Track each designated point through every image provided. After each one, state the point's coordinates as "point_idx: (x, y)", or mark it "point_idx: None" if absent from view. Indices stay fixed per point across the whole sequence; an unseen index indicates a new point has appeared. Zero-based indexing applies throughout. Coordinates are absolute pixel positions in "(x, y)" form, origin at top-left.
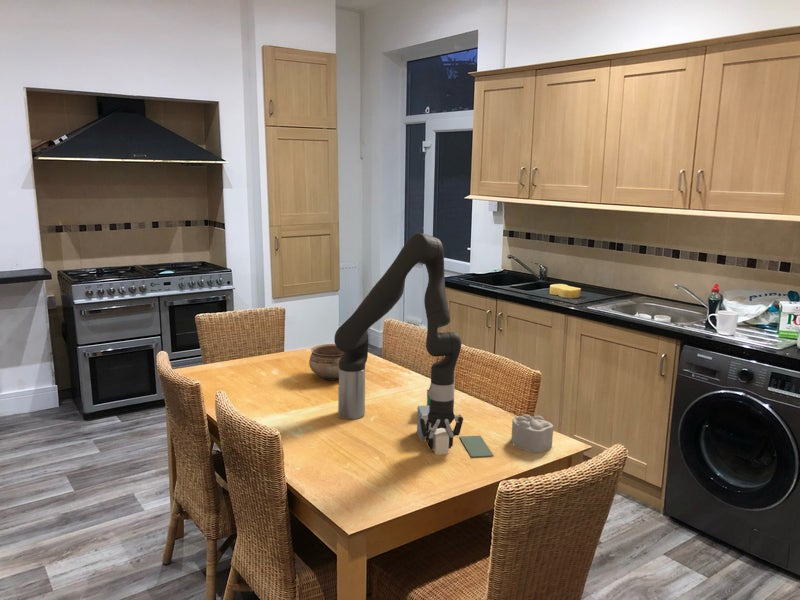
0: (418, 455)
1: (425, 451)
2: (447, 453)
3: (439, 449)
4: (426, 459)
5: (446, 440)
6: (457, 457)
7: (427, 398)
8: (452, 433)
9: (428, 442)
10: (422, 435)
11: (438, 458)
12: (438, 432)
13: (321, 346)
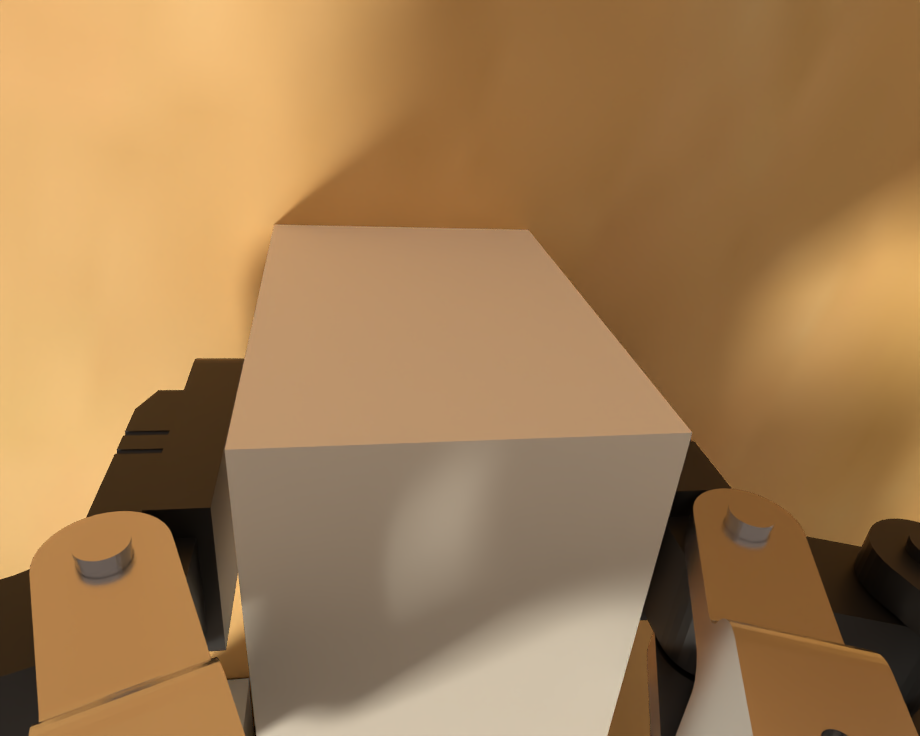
0: (817, 247)
1: (646, 373)
2: (294, 228)
3: (480, 265)
4: (772, 55)
5: (324, 367)
6: (86, 21)
7: None
8: (55, 618)
9: (695, 449)
10: None
11: (531, 55)
12: (499, 687)
13: None
